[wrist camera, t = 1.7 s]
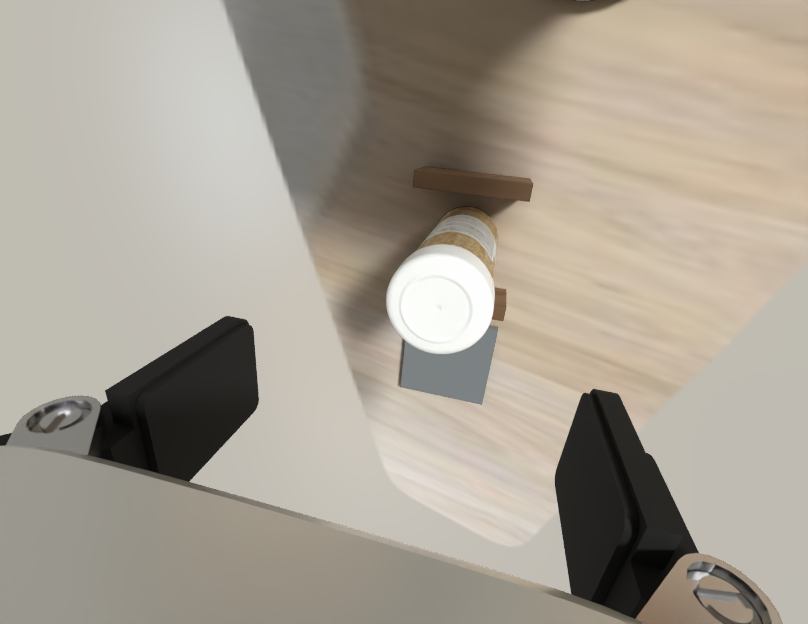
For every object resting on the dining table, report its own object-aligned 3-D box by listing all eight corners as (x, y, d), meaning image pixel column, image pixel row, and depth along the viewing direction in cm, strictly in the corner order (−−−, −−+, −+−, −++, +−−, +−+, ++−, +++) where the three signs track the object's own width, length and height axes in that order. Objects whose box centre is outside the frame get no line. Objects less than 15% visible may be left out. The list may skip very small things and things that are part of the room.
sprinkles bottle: (466, 280, 29) (439, 377, 17) (421, 238, 29) (362, 308, 17) (512, 235, 27) (518, 310, 15) (465, 190, 27) (432, 230, 15)
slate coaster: (409, 310, 31) (408, 313, 31) (497, 326, 30) (497, 330, 30) (402, 383, 34) (400, 386, 34) (482, 400, 33) (481, 404, 32)
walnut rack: (425, 166, 27) (414, 170, 24) (529, 178, 25) (533, 183, 22) (412, 286, 30) (401, 303, 27) (503, 301, 29) (503, 321, 26)
